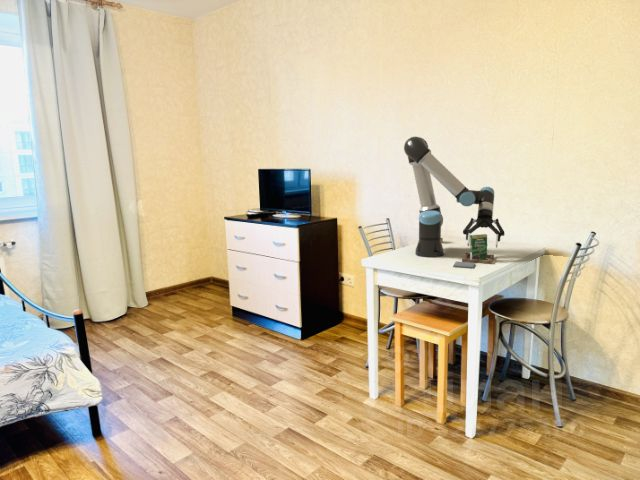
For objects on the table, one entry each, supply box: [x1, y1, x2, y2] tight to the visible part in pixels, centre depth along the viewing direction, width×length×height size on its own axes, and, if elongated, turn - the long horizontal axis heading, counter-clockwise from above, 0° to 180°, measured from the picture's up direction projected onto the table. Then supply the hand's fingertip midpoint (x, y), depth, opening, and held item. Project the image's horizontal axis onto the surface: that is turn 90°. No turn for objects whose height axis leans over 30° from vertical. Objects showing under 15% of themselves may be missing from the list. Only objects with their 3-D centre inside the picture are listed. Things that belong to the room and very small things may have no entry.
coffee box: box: [469, 233, 488, 260], centre depth 225 cm, size 8×3×13 cm, turn 89°
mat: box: [452, 261, 476, 269], centre depth 215 cm, size 9×9×1 cm
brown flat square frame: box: [461, 252, 495, 265], centre depth 226 cm, size 14×15×2 cm
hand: (482, 245), depth 225 cm, fingers open, 13 cm apart
